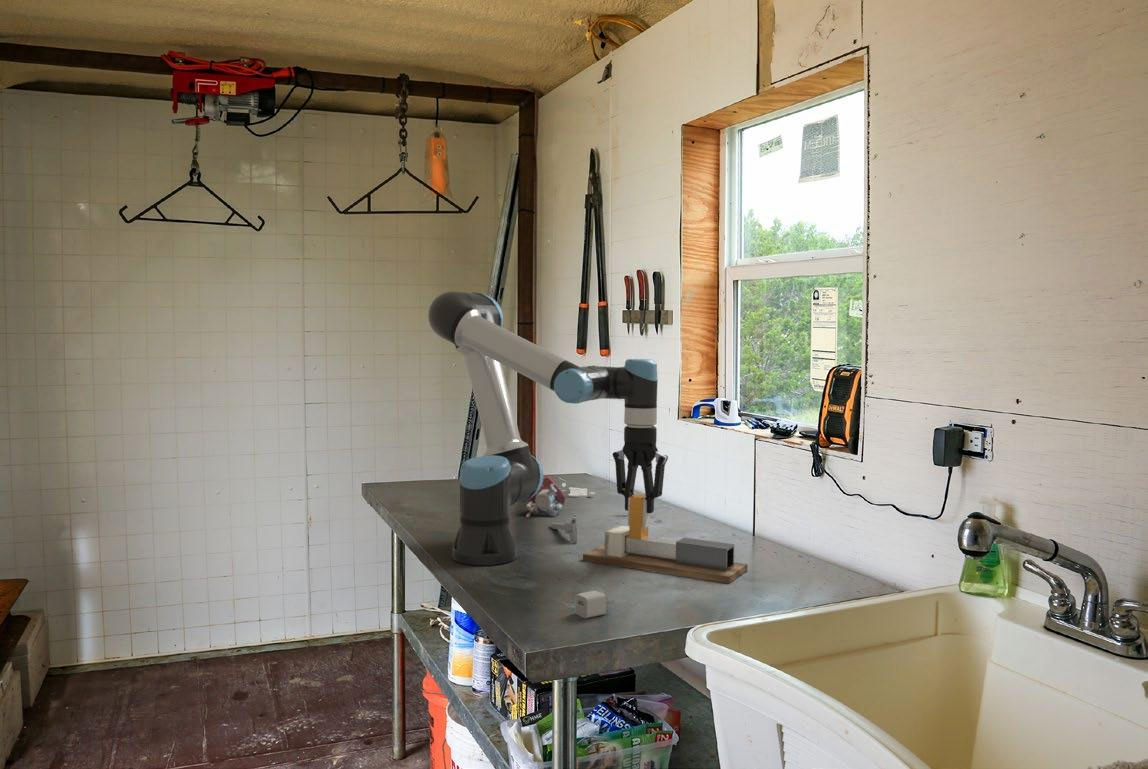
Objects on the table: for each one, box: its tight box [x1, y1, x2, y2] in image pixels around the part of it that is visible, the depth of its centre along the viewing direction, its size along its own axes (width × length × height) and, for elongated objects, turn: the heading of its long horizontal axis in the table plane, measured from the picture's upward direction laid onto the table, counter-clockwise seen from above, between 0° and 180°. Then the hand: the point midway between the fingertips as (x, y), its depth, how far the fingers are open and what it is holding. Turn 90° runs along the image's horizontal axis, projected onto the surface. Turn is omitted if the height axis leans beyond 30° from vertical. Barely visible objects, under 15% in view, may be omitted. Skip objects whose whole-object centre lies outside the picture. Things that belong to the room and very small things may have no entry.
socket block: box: [604, 525, 629, 557], centre depth 212 cm, size 8×4×6 cm, turn 150°
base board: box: [582, 543, 749, 584], centre depth 206 cm, size 12×36×2 cm, turn 60°
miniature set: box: [558, 482, 596, 497], centre depth 293 cm, size 6×35×12 cm
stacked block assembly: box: [625, 493, 678, 559], centre depth 206 cm, size 4×22×13 cm, turn 60°
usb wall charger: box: [574, 590, 615, 619], centre depth 172 cm, size 4×7×4 cm, turn 125°
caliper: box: [549, 518, 578, 544], centre depth 236 cm, size 20×1×6 cm, turn 19°
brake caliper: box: [525, 476, 566, 518], centre depth 260 cm, size 11×11×12 cm
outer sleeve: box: [676, 537, 735, 571], centre depth 201 cm, size 5×12×5 cm, turn 60°
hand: (638, 525), depth 209 cm, fingers closed on stacked block assembly, 3 cm apart
